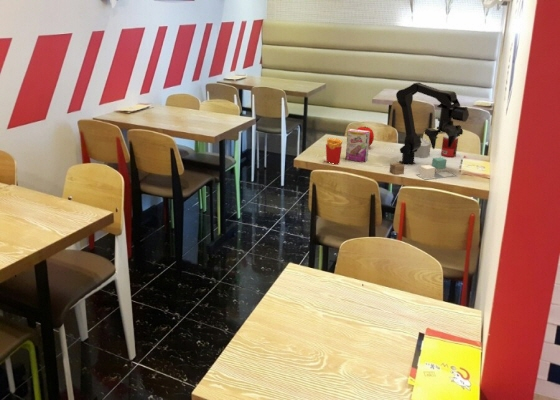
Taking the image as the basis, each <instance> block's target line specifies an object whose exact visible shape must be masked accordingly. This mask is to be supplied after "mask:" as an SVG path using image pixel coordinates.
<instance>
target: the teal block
mask: <svg viewBox="0 0 560 400" xmlns="http://www.w3.org/2000/svg"><path fill="white" fill-rule="evenodd" d="M431 160H432V161H431V166H433V167H435V169H437V170H439V169H446V168H447V161H448V160H447V159H446V158H444V157H441V156H440V157H432V159H431Z"/></svg>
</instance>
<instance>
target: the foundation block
mask: <svg viewBox="0 0 560 400" xmlns="http://www.w3.org/2000/svg"><path fill="white" fill-rule="evenodd" d="M435 172H436V168H435V167H433V166H432V164H425V165H420V169H419V174H420V176H422V177H423V178H425V179H427V178H434V174H435Z"/></svg>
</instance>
